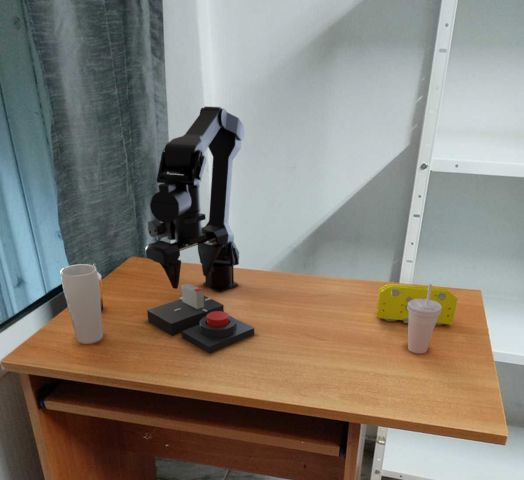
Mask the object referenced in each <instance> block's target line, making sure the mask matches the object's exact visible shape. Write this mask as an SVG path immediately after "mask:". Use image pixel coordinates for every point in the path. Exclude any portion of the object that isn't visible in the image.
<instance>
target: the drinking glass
mask: <svg viewBox="0 0 524 480" xmlns="http://www.w3.org/2000/svg"><path fill="white" fill-rule="evenodd" d="M97 272H98V270H97V267H96V265H95V266H93V265H92V264H88V263H76V264H72V265H68V266H66V267H63V268H62V269H61V270H60V279H61V285H62V291H63V294H64V298H65V302H66V305H67V309H68V312H69V316H70V319H71V323H72V327H73V331H74V336H75V340H76V341H77V342H78V343H80V344H83V345H91V344H92V345H93V344H95V343H98V342H100V341H101V340H102V339H103V337H104V332H103V322H102V321H103V320H102V312H101V301H100V286H99V279H98V274H97Z"/></svg>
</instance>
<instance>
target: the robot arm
mask: <svg viewBox="0 0 524 480" xmlns="http://www.w3.org/2000/svg"><path fill="white" fill-rule="evenodd" d="M244 137H245V126H244V123H242V121H241V119H240V117H237V116H235V115H233V114H231V113H230V112H228V111H227V110H226V109H225V108H224V107H222V106H204V107H201V108H200V109H199V115H198V116H197V117H196V118H195V120H194V121H193V123H192V124H191V125H190V127H189V128H188V130H187V131H186V132H185V133H184V135H182V136H178V137H174V138H172V139H171V140H170V141H168V142H167V143H166V144H165V145H164V148H163V149H162V151H161V156H160V160H159V161H160V162H159V166H158V171H157V177H156V183H159V184H158V191H157V192H156V193H154V194H153V195H152V197H151V201H150V203H149V208H150V212H151V214H152V215H153V216H154V218H155V219H154V220H149V221H147V231H148V234H149V236H150V237H151V238H153V237H156V240H157V241H155V242H151V243H148V244H147V245H146V247H145V258H146V259H149V260H151V261H152V262H154V263H158V264H159V265H160V266H161V267H162V269H163V270H164V272H165V274H166V276H167V278H168V280H169V283H170V285H171V287H172V288H173V289H175V290H177V289H179V283H180V277H181V268H182V260H181V259H179V258H180V257H181V251H184V250H187V249H189V248H190V249H191V248H192V247H197V253H198V257H199V263H200V264H201V269H202V275H203V276H204V277H205V279H204V280H205V281H204V282H203V283H202V285H203V287H206V288H208V289H210V290H213V291H215V292H217V293H220V292H224V291H226V290H227V291H228V290H229V289H232V288H235V287H237V286H238V285H239V284H238V282H235V281H234V279H235V276H234V274H235V273H234V267H235V266H239V264H240V251H239V249H238V247H237V245H236V243H235V235H234V232H233V231H232V228H231V227H230V225H229V215H230V204H231V192H232V191H231V189H232V177H233V165H234V163H233V162H234V159H235V158H236V156H237V155H238V154H239V152H240V151H241V149H242V142H243V140H244ZM207 149H208V151H209V152H210V155H211V156H212V162H211V163H212V165H211V178H210V193H209V206H208V207H209V208H208V221H207V223H206V224H205V226H203V225H202V224H203V223H202V221H205V220H207V219H206V213H202V207H201V206H202V205H201V186H200V185H201V184H200V183H201V182H202V179H203V178H202V177H203V175H204V171H205V167H206V163H207V157H206V155H205V152H206V150H207ZM166 237H167V238H166ZM163 238H166V239H167V240H168V241H174V242H172V243H171V242H168V241H164V240H161V239H163Z"/></svg>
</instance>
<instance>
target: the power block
mask: <svg viewBox="0 0 524 480" xmlns="http://www.w3.org/2000/svg"><path fill="white" fill-rule="evenodd" d="M254 336H255V327H253V326H251V325H249V324H247V323H245V322H243V321H241V320H239V319H237V318H235V317H233V316H231V315H229V324H228V325H226V326H224V327H211V326H209V325H208V324H207V316H206V317H203V318H202V319H201V320H200V324H199V325H197V326H194V327H191V328H189V329H186V330H183V331H182V333H181V339H182V340H184V341H186V342H187V343H189V344H191V345H192V346H194V347H196V348H197V349H199V350H202V352H205V353H206V354H208V355H211V354H213V353H216V352H218V351H220V350H223V349H225V348H228V347H230V346H232V345H235V344H237V343H239V342H242V341H244V340H246V339H249V338H251V337H254Z"/></svg>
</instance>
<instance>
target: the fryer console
mask: <svg viewBox="0 0 524 480" xmlns="http://www.w3.org/2000/svg"><path fill="white" fill-rule="evenodd" d="M203 297H204V307H203V308H200V309H196V308H194V307H192V306H190V305H188V304H186V303H184V302H183V301H182V296H181V297H179V299H176V300H173V301H170V302H167V303H164V304H162V305H158V306H155V307H153V308H152V307H151V308H149V309H147V310H146V312H147V323H148V324H150V325H151V326H153V327H155V328H157V329H159V330H161V331H162V332H164V333H166V334H167V335H169V336H171V337H175V336H177V335H180V334H182V331H183V330H186V329H189V328H191V327H194V326H197V325H199V324H200V320H201V319H202V318H203V317H206V316H207V315H208V314H209V313H210V312H214V311H223V312H225V311H224V310H225V309H224V304H223V303H221V302H218V301H216V300H215V299H213V298H211V297H208V296H206V295H204V294H203Z"/></svg>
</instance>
